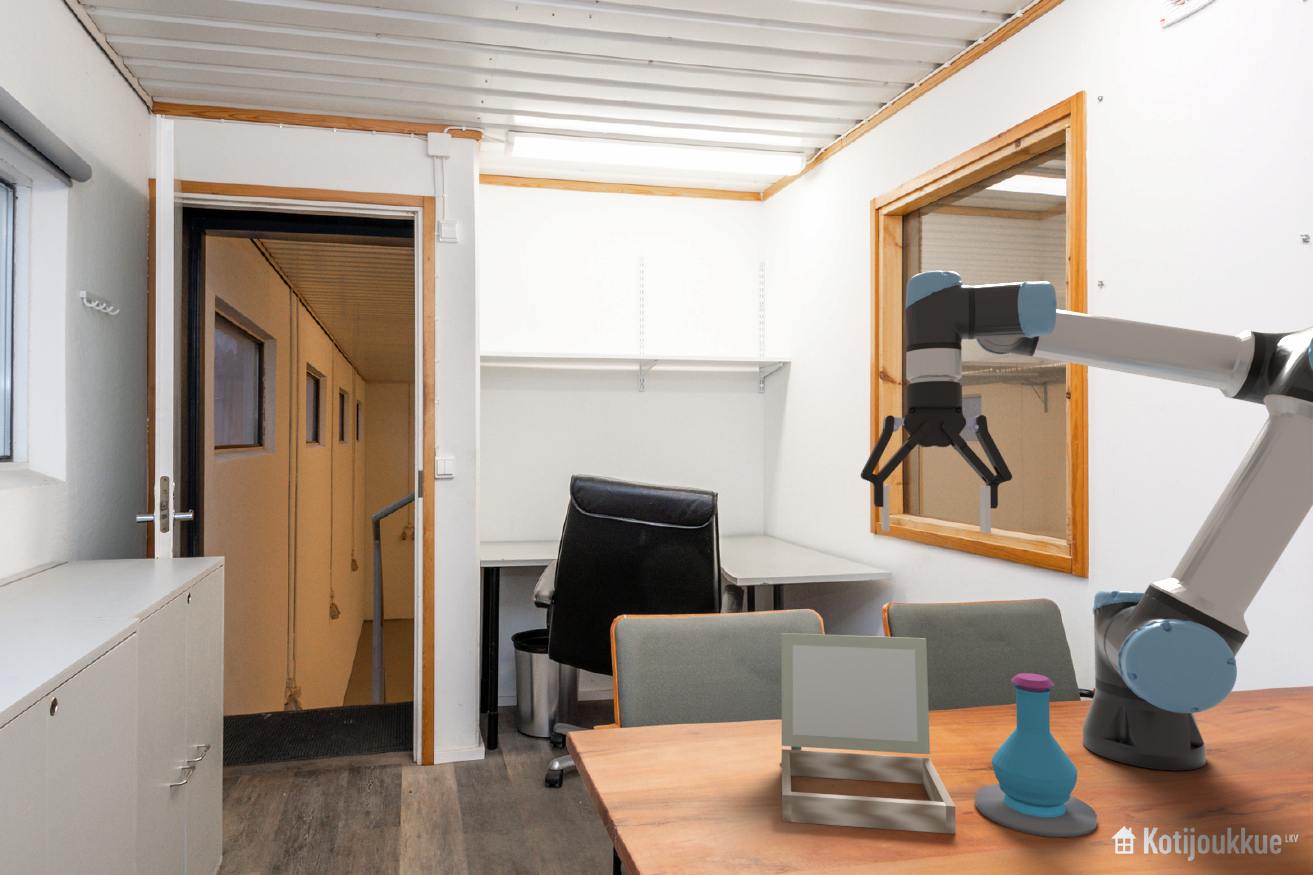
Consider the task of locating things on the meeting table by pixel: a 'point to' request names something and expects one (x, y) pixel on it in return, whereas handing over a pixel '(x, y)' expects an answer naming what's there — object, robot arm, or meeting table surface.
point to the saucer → (1069, 824)
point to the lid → (855, 693)
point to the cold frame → (866, 809)
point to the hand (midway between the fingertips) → (934, 531)
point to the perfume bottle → (1034, 755)
